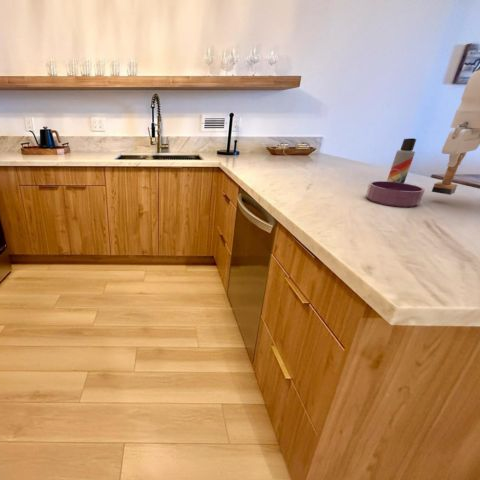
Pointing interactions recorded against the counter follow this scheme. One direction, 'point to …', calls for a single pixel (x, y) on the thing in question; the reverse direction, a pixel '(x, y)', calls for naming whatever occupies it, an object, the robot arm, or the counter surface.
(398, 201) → the plum bowl
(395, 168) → the lotion bottle
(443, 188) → the dish brush
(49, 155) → the counter surface
